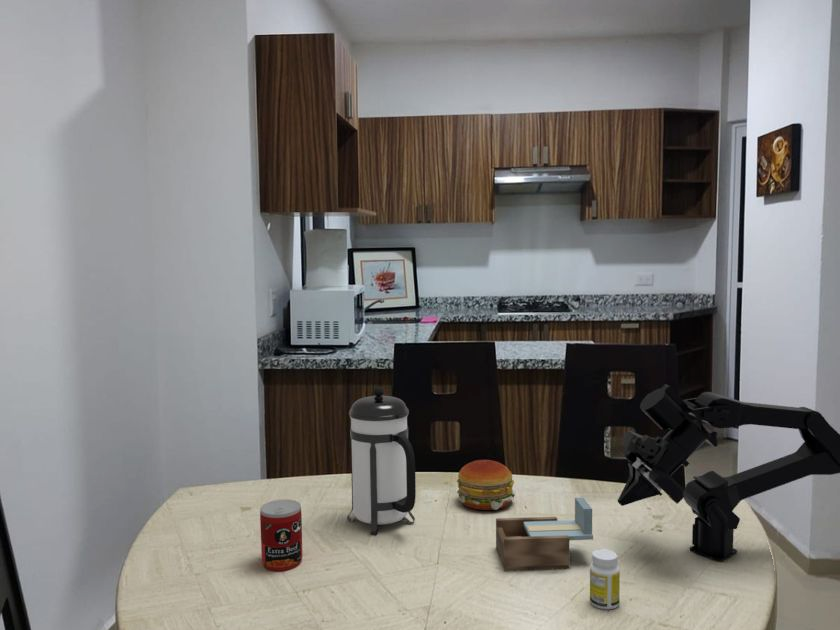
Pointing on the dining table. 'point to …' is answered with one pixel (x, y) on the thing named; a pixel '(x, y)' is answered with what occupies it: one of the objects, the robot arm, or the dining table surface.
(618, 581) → the supplement bottle
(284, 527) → the canned food
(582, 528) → the lid
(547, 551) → the pencil box
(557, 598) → the dining table surface
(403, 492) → the coffee press
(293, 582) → the dining table surface
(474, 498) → the burger
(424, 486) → the dining table surface
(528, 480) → the dining table surface
